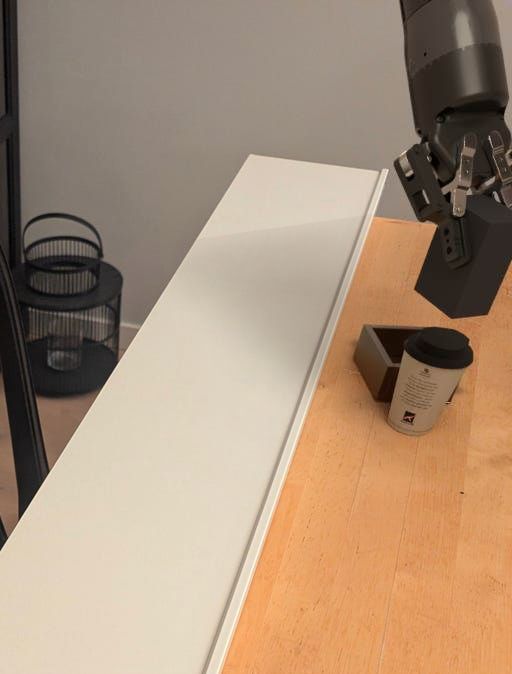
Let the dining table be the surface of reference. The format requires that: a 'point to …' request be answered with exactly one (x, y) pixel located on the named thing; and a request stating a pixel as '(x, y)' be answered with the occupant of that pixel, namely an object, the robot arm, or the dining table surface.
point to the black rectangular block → (481, 273)
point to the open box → (383, 357)
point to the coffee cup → (428, 378)
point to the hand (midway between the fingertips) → (483, 262)
